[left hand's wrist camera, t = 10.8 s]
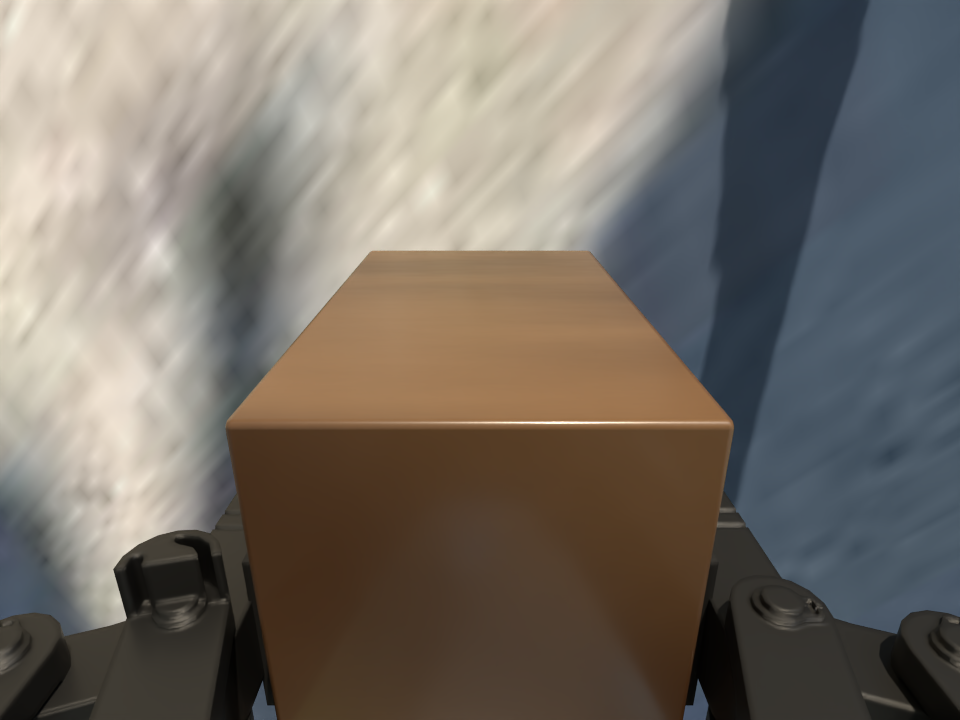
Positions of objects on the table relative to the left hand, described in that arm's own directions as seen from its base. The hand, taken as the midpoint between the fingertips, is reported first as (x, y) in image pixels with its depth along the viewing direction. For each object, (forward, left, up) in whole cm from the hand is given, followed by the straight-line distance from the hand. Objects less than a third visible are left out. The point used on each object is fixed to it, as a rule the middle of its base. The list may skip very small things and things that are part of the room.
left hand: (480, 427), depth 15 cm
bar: (+15, +17, -1) cm, 23 cm away
